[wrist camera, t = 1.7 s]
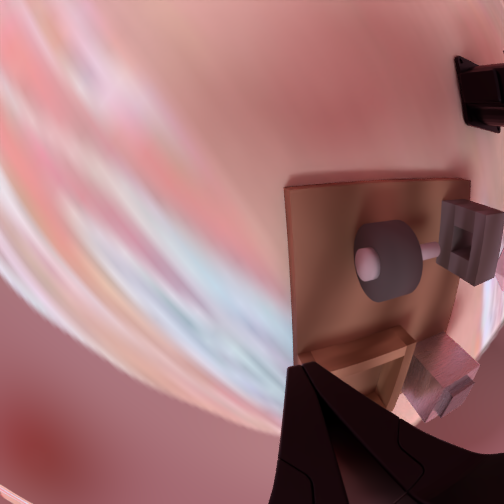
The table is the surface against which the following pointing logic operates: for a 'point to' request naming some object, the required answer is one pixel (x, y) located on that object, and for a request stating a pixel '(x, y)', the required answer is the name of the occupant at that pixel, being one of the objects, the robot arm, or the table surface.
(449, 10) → the table surface
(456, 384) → the block
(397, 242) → the wheel
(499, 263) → the milk
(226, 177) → the table surface
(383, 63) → the table surface
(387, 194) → the frame
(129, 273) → the table surface
